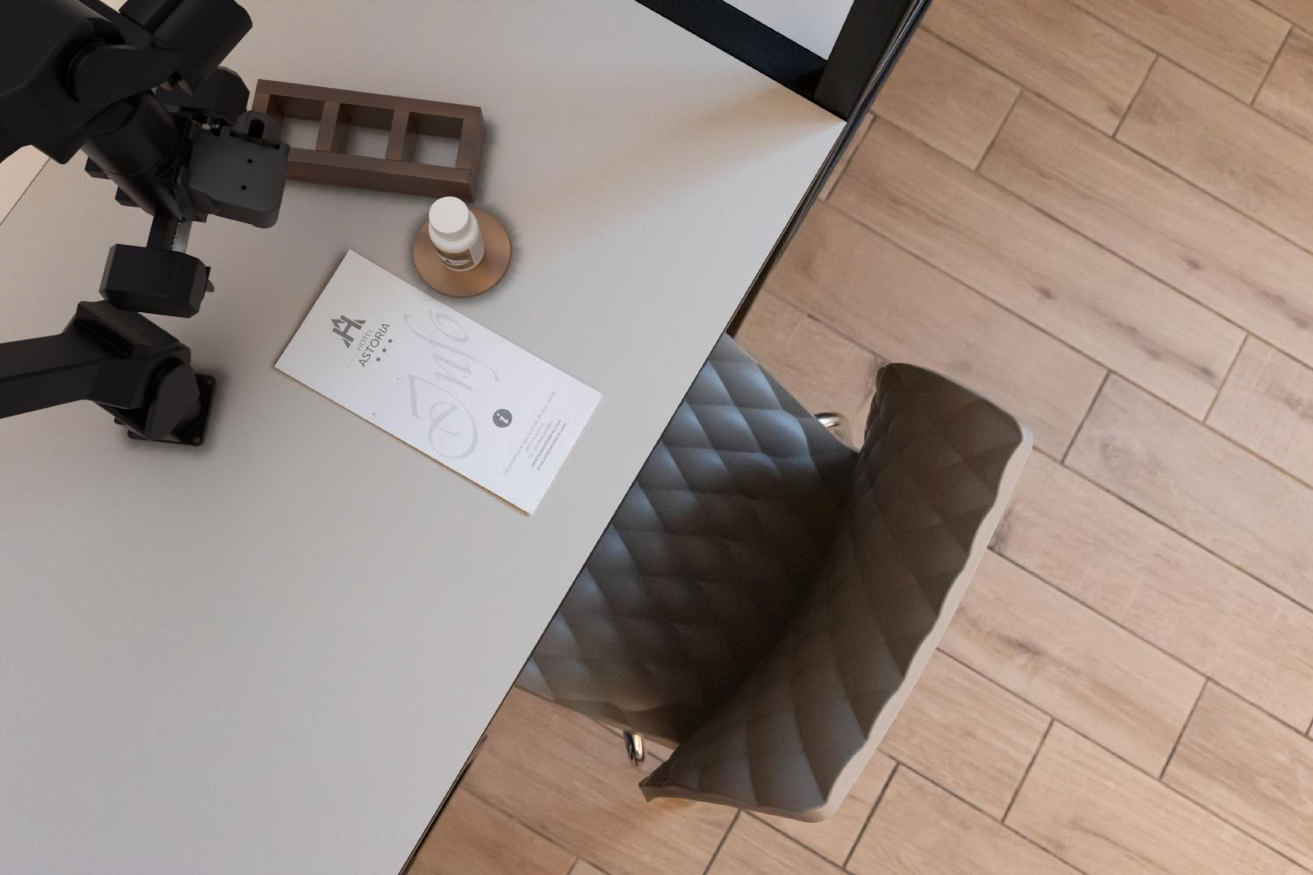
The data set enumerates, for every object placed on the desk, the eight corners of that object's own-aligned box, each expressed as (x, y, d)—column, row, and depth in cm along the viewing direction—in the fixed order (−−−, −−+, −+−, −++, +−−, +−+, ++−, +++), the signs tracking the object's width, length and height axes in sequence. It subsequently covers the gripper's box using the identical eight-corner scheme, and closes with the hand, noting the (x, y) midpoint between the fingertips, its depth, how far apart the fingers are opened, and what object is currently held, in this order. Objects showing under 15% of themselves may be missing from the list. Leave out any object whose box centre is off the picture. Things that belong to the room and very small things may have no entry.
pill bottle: (430, 265, 91) (415, 229, 84) (446, 223, 92) (433, 184, 85) (475, 279, 91) (464, 244, 84) (491, 237, 92) (481, 199, 85)
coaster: (503, 303, 91) (503, 301, 91) (406, 291, 91) (406, 289, 91) (517, 214, 93) (516, 212, 93) (422, 202, 93) (421, 200, 93)
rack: (473, 203, 93) (468, 183, 89) (255, 176, 93) (240, 155, 89) (485, 129, 95) (480, 106, 91) (272, 102, 94) (257, 78, 90)
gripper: (224, 285, 62) (298, 359, 77) (283, 25, 66) (342, 144, 81) (45, 262, 61) (155, 341, 76) (116, 3, 65) (207, 126, 81)
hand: (220, 236), depth 79 cm, fingers open, 9 cm apart
